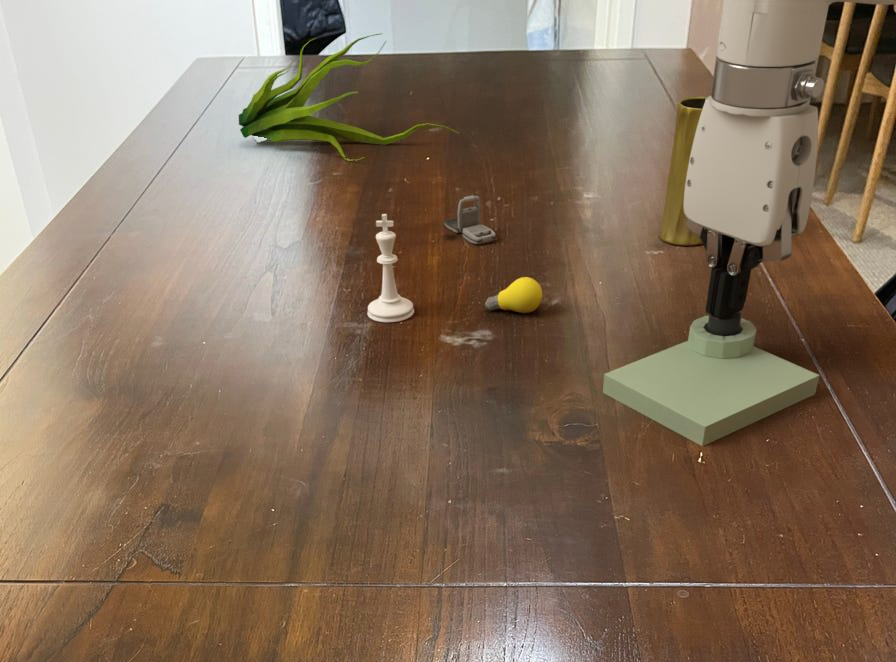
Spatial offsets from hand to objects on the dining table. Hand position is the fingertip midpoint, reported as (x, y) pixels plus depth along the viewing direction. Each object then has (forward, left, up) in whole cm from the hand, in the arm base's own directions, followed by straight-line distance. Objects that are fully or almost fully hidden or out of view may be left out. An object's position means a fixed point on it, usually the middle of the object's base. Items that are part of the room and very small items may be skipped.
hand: (724, 311), depth 90 cm
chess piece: (+17, -29, -5) cm, 34 cm away
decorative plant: (-11, -84, -5) cm, 85 cm away
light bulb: (+7, -21, -5) cm, 23 cm away
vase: (-21, -24, -5) cm, 33 cm away
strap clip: (-3, -42, -5) cm, 43 cm away
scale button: (0, 0, -2) cm, 2 cm away
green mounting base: (+5, +4, -5) cm, 8 cm away
